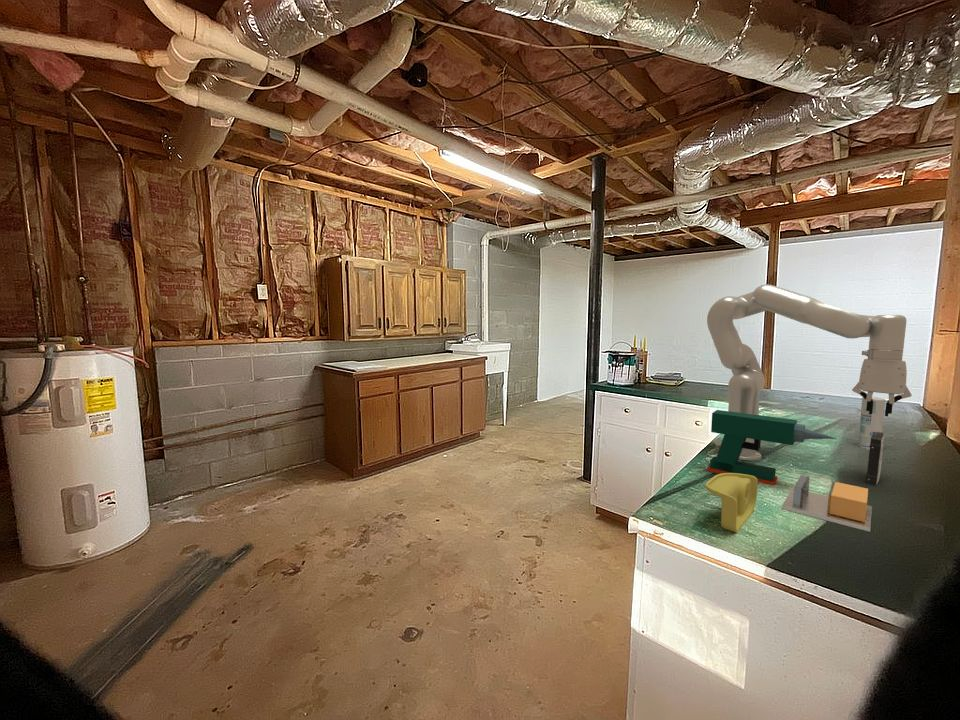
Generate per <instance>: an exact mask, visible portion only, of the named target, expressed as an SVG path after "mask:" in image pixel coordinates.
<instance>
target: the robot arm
mask: <svg viewBox="0 0 960 720" xmlns="http://www.w3.org/2000/svg"><path fill="white" fill-rule="evenodd" d="M766 311H767V312H771V313H774V314H776V315H779V316H782V317H784V318H788V319H790V320H793V321H796V322H798V323H802V324H806V325H809V326H812V327H814V328H817V329H820V330H823V331H826V332H828V333H832V334H835V335H836V336H840V337H843V338H846V339H858V338H868V339H869V340H868V349H867V350H862V351H861V355H862V356H864V357H865V356H866V357H867V358H865V359H863V360H862V361H863V362H862V365H861V369H860V373H859V380H858V382H857V383H856V384H855V386H854V387H852V390H851V391H853V392H854V393H856V394H858V395H860V396H861V398H862V397H863V398H864V399H866V401H867V407H866V411H869V414H872V411H873V399H872V397H873V395H874V393H876V394H877V393H878V394H888V400H887V401H886V402H885V409H884V417H889V414H890V415H892V414H893V405H894V404H895V403H896V402H899V401H901V400H903V399H907V398H911V397H912V393H911V391H910V389H909V388H908V386H907V373H908V372H907V371H908V369H907V363H906V361H905V360H903V357H904V347H905V337H906V330H907V329H906V328H907V318H906V316H904V315H902V314H901V315H900V314H879V315H865V314H860V313H859V314H858V313H855V312H852V311H849V310H845V309H842V308H838V307H836V306H833V305H830V304H827V303H824V302H822V301H820V300H818V299H816V298H814V297H811V296H808V295H805V294H801V293H799V292H795V291H791V290H790V289H786V288H783V287H779V286H777V285H773V284H766V283H765V284H761V285H760V286H757V287H756V288H754V290H753V291H752V292H749V293H748V292H747V293H745V294H743V295H739V296H732V295H731V296H730V295H729V296H724V297H722V298H719V299H718V300H717V301H716V302H714V304H712V305H711V307H710V309H709V311H708V313H707V317H706V324H707V328H708V331H709V334H710V337H711V339H712V341H713V345H714V347H715V349H716V353H717V354H718V358H719V359H720V360H719V361H720V363H721V364H722V366H723V367H725V368H726V369H728V370H731V373H732V376H731V378H730V379H729V382H728V385H727V393H728V394H727V395H728V405H727V407H728V409H727V411H730V412H738V413H746V414H754V415H760V414H759V413H760V392H761V391H763V389H764V388H765V386H766V378H765V375H764V373H763V371H762V368H761V366H760V364H759V362H758V359H757V357H756V354H755V353H754V351H753V349H752V348H751V347H750V346H748V345H747V344H744V343H743V342H742V340H741V337H740V335H739V332H738V330H737V328H736V327H735V325H734V320H740V319H744V318H746V317H750V316H753V315H757V314H759V313H763V312H764V313H765V312H766ZM745 442H749V443H754V439H750V438H746V441H745ZM721 443H722V440H720V439H719V440H718V439H714V441H713V444H714V445H715V446H716V447H720V446H721ZM761 459H762V454H761V453H760V452H758V451H756V450H751V449H745V448H743V449H742V452H741V454H740V457H739V459H738V460H741V461H759V460H761Z"/></svg>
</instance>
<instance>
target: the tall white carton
mask: <svg viewBox="0 0 960 720" xmlns="http://www.w3.org/2000/svg"><path fill="white" fill-rule="evenodd" d="M872 399H873V411H872V414H869V411H866V407H867V401H866V399H864V398H863V397H862V396H861V407H860V409H861V410H860V422H859V426H860V427H859V434H858V435H859V437H858V447H859V446H860V447H862V448H861V449H863V448H866V449H865V450H868V449H870V442H871V437H872V434H873V432H881V433H883V428H884V419H885V418H884V417H885V409H886V399H885V398H884V397H883V398H882V397H874V396H872ZM860 447H859V448H860Z"/></svg>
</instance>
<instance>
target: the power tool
mask: <svg viewBox="0 0 960 720" xmlns="http://www.w3.org/2000/svg"><path fill="white" fill-rule="evenodd" d="M797 421H798V419H792V418H791V419H790V418H783V417H778V416H777V417H776V416H769V415H761V414H759V415H754V414H746V413H738V412H730V411H728V410H721V409H716V410H715V411H713V412H712V413H711V427H710V428H711V429H710V431H711V432H710V433H715V434H719V435H721V434H722V435H723V438H722V440H721V441H722V443H721V446H719V449H718V451H717V455H716V456H715V455H714V456H713V457H712V458H711V459H709V466H708V467H707V472H711V473H716V474H722V473H738V474H746V475H751V476H754V477H756V478H757V480H758V483H762V484H766V485H770V486H775V485H776V483H777V481H778V480H779V479H778V477H779V476H776V472H777V471H776V470H777V468H775V467H770V466H766V465H761V464H755V463H750V462H744V461H742V460H741V461H740V459H739V457H740V454H741V452H742V449H743V448H745V449H751V450H756V452H758V451H759V450H760V449H761V443H762V442H761V441H764V442H769V443H776V444H783V445H788V446H794V444H795V442H797V443H804V442H805V440H833V439H834V440H837V439H838V438H836V437H833V436H831V435H827V434H825V433H822V432H817V431H815V430H810V429H807V428H806V425H805V424H801V423H797ZM746 438H750V439H754V443H749V442H745V441H746Z"/></svg>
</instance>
